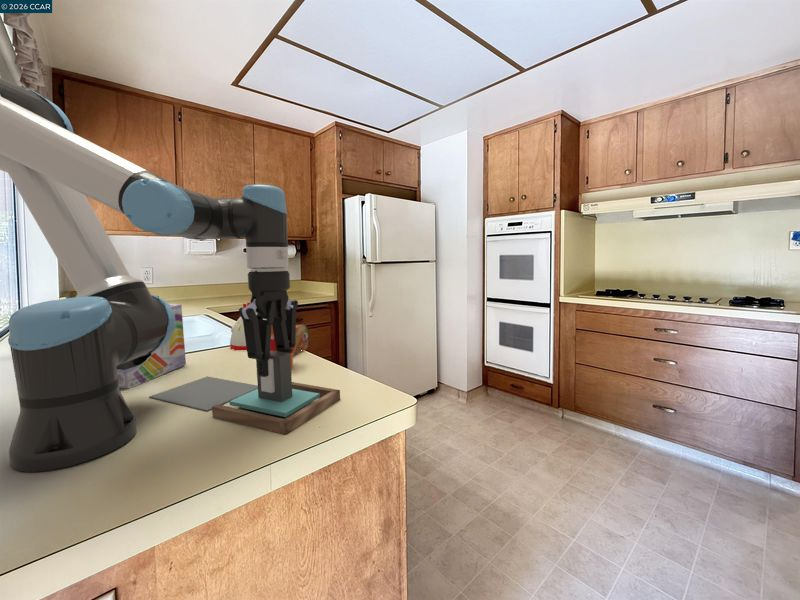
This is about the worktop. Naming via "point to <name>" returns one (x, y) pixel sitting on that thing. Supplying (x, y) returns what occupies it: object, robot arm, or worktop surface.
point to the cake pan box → (156, 358)
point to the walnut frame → (278, 424)
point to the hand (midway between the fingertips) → (275, 387)
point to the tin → (301, 339)
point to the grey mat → (205, 393)
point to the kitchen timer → (238, 335)
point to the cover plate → (274, 405)
